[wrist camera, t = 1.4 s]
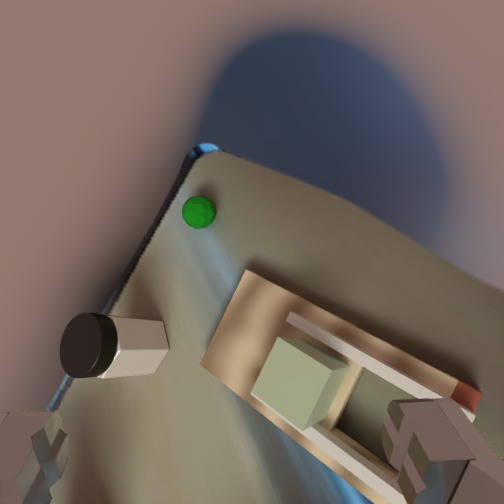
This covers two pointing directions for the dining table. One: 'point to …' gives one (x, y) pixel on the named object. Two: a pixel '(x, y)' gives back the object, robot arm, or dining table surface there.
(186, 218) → the polyhedron
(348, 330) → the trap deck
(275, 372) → the block
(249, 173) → the dining table surface
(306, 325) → the channel rails
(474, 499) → the robot arm
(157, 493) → the dining table surface
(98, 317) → the jar
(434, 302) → the dining table surface
